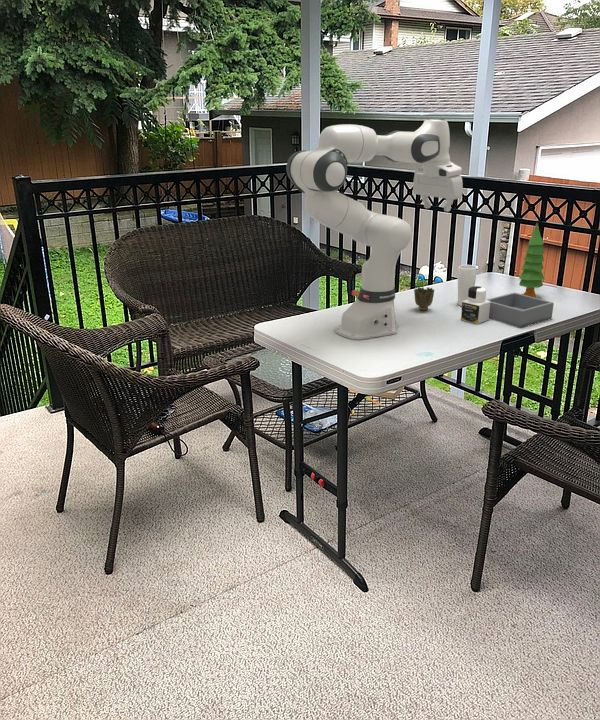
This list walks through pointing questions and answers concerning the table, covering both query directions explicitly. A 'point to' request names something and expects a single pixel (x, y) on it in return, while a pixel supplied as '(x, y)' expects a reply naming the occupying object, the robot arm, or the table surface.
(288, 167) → the robot arm
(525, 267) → the decorative tree
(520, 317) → the bin
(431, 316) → the table surface
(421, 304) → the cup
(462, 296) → the drinking glass
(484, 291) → the medicine bottle
